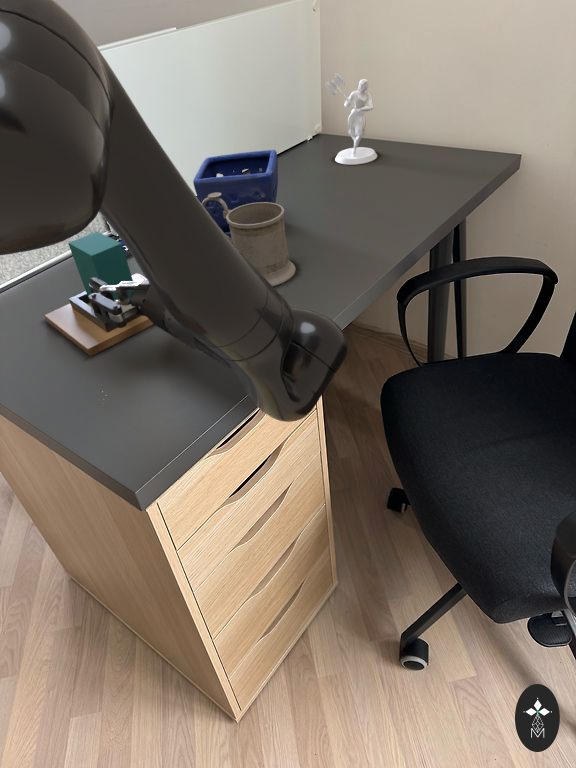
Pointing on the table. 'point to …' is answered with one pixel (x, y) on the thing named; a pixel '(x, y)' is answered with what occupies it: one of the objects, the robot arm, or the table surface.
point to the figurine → (355, 122)
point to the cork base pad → (93, 324)
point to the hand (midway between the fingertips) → (123, 271)
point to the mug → (260, 237)
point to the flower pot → (237, 182)
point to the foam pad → (100, 260)
